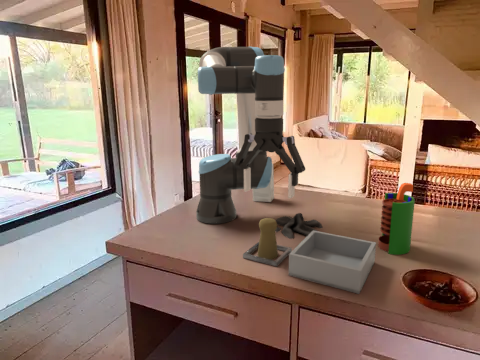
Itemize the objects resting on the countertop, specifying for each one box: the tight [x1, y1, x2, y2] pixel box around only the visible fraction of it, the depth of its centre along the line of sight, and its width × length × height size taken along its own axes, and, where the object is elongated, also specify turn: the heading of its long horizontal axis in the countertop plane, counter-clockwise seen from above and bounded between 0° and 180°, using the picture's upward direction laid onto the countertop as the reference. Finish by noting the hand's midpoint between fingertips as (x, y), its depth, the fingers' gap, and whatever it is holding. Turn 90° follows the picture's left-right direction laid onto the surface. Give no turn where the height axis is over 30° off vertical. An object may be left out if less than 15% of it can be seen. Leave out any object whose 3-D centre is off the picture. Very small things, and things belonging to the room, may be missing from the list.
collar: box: [242, 241, 293, 267], centre depth 106 cm, size 11×11×1 cm
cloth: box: [274, 212, 323, 240], centre depth 124 cm, size 22×19×6 cm
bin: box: [288, 230, 377, 295], centre depth 97 cm, size 18×18×6 cm
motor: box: [377, 182, 416, 256], centre depth 108 cm, size 10×9×20 cm
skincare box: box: [252, 163, 275, 203], centre depth 155 cm, size 8×7×16 cm
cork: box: [256, 217, 279, 260], centre depth 105 cm, size 6×6×11 cm
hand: (268, 193), depth 102 cm, fingers open, 13 cm apart
